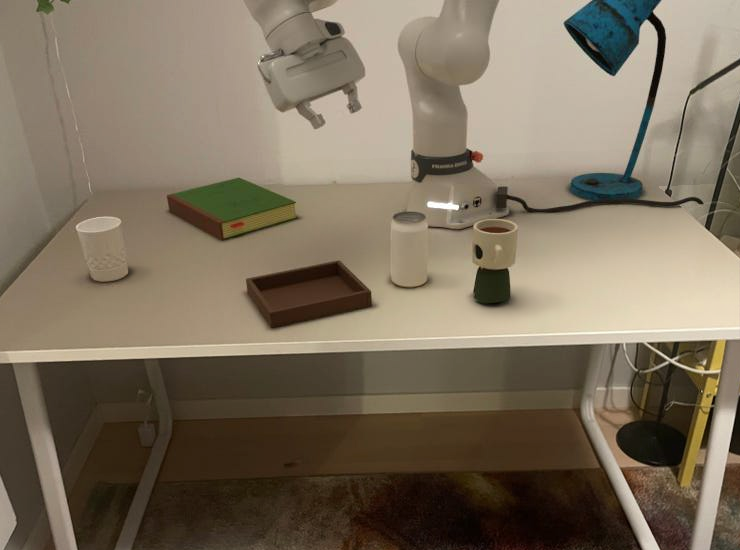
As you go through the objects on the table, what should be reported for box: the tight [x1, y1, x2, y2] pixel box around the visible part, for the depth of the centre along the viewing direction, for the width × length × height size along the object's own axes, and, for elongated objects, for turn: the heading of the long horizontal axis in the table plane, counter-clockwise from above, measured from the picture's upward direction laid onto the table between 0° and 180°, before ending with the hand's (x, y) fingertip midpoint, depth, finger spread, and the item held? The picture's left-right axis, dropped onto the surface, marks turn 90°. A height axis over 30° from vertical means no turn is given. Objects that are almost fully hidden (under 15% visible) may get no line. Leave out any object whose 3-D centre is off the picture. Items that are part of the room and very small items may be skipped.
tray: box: [245, 260, 373, 329], centre depth 128 cm, size 18×15×3 cm
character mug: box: [471, 218, 519, 304], centre depth 123 cm, size 11×7×13 cm, turn 179°
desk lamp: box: [563, 0, 667, 201], centre depth 161 cm, size 16×22×45 cm
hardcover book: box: [166, 177, 298, 241], centre depth 166 cm, size 25×19×4 cm
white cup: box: [75, 216, 129, 283], centre depth 138 cm, size 8×8×10 cm
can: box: [390, 210, 429, 288], centre depth 131 cm, size 6×6×12 cm
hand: (339, 118), depth 127 cm, fingers open, 8 cm apart
